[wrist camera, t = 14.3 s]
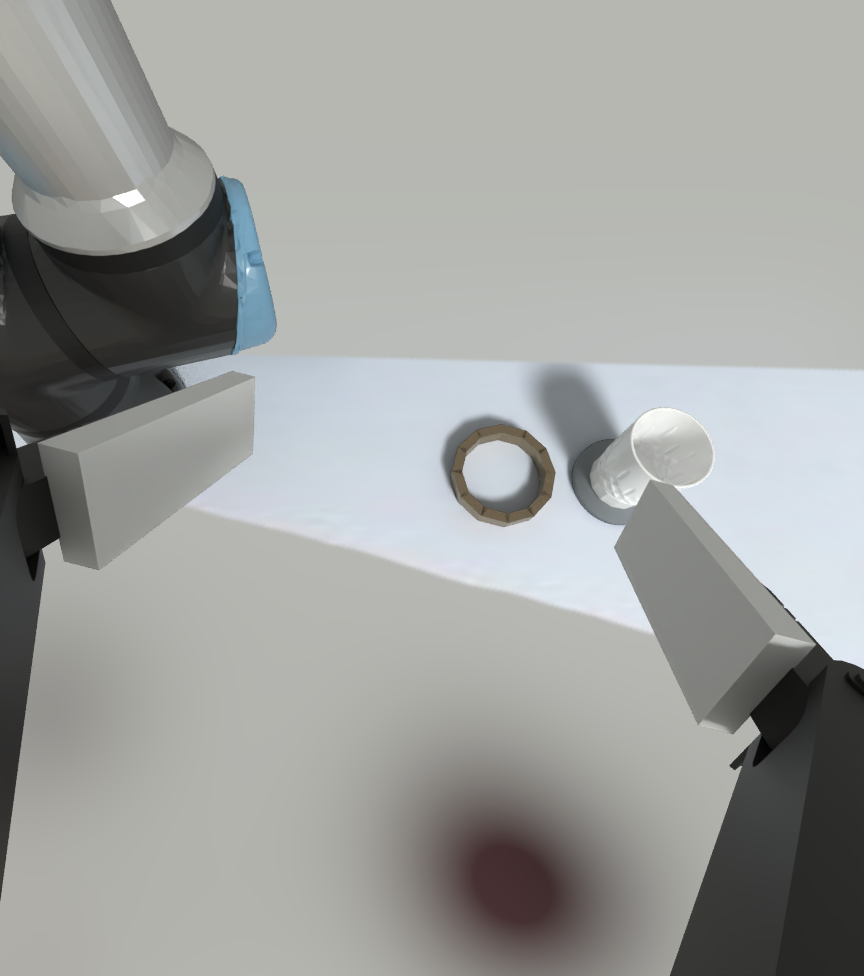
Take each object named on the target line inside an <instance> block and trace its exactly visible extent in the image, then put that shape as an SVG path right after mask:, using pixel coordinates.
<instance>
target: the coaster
mask: <svg viewBox="0 0 864 976" xmlns="http://www.w3.org/2000/svg"><path fill="white" fill-rule="evenodd" d="M614 440H615V439H607V440H601V441H598V442H596V443H594V444H592V445H590V446H589V447H588V448H587V449H585V450H584V451H583V452H582V453H581V454H580V455H579V457H578V458H577V460H576V462H575V464H574V467H573V471H572V484H573V489H574V492H575V494H576V496H577V499H578V500H579V502H580V503H581V505H582V506H583V507H584V508H585V509H586V510H587V511H588V512H589V513H590V514H591V515H592V516H594V517H596V518H597V519H599V520H601V521H603V522H606V523H609V524H614V525H626V524H627V522H628V520H629V518H630V516H631V514H632V513H633V511H634V509H635V507H636V506H634V507H631V508H627V509H620V508H615V507H611V506H609V505H608V504H606V503H605V502H603V501H602V500H600V499H599V498H598V496H597V495H596V493H595V492H594V490H593V489H592V487H591V481H590V471H591V468H592V465H593V463H594V462H595V461H596V460H597V459H598V458H599V457H600V456H601V455H602V454H603V453H604V451H605V450H606V448H608V447H609V445H610V444H611V443H612V442H613V441H614Z"/></svg>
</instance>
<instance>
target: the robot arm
mask: <svg viewBox="0 0 864 976" xmlns="http://www.w3.org/2000/svg"><path fill="white" fill-rule="evenodd" d="M0 156H1V157H2V158H3V159H4V160H5V162H6V163H7V164H8V165H9V167H10V168H11V169H12V170H13V171H14V173H15V177H14V184H13V189H12V203H13V208H14V211H15V213H16V214H11V215H6V216H0V898H1V891H2V884H3V876H4V868H5V861H6V854H7V846H8V839H9V831H10V824H11V816H12V808H13V801H14V793H15V786H16V779H17V771H18V763H19V756H20V748H21V741H22V734H23V726H24V719H25V711H26V704H27V696H28V689H29V681H30V673H31V666H32V658H33V651H34V643H35V636H36V629H37V621H38V614H39V606H40V599H41V590H42V583H43V576H44V568H45V560H44V556H43V552H42V548H44V547H45V546H47V545H49V544H50V543H52V542H54V541H55V540H57V539H59V541H60V545H61V550H62V554H63V559H64V561H65V562H69V563H73V564H77V565H81V566H85V567H88V568H92V569H96V570H100V569H101V568H103V567H104V566H105V565H107V564H108V563H109V562H111V561H112V560H113V559H115V558H116V557H117V556H119V555H120V554H121V553H122V552H124V551H125V550H126V549H128V548H129V547H130V546H132V545H133V544H134V543H136V542H137V541H138V540H140V539H141V538H142V537H144V536H145V535H146V534H148V533H149V532H150V531H152V530H153V529H154V528H156V527H157V526H158V525H160V524H161V523H162V522H164V521H165V520H166V519H167V518H169V517H170V516H171V515H173V514H174V513H175V512H177V511H178V510H179V509H181V508H182V507H183V506H185V505H186V504H187V503H189V502H190V501H191V500H193V499H194V498H195V497H197V496H198V495H199V494H201V493H202V492H203V491H205V490H206V489H207V488H209V487H210V486H211V485H212V484H214V483H215V482H216V481H218V480H219V479H220V478H222V477H223V476H224V475H226V474H227V473H228V472H230V471H231V470H232V469H234V468H235V467H236V466H238V465H239V464H240V463H242V462H243V461H244V460H246V459H247V458H248V457H249V456H251V455H252V454H253V435H254V404H255V377H253V376H249V375H246V374H242V373H238V372H234V371H231V372H228V373H226V374H223V375H220V376H218V377H215V378H212V379H209V380H207V381H204V382H201V383H199V384H196V385H193V386H191V387H188V388H186V387H185V386H184V385H183V383H182V382H181V381H180V380H179V379H178V378H177V377H176V376H175V375H174V373H173V372H172V371H171V370H170V369H169V368H171V367H176V366H180V365H185V364H189V363H194V362H199V361H203V360H208V359H213V358H217V357H222V356H226V355H235V354H237V353H239V351H241V350H245V349H248V348H251V347H255V346H258V345H261V344H264V343H266V342H268V341H269V340H270V339H271V338H272V337H273V336H274V334H275V332H276V325H277V324H276V316H275V310H274V305H273V300H272V295H271V291H270V287H269V282H268V278H267V274H266V270H265V266H264V262H263V260H262V253H261V250H260V246H259V240H258V236H257V232H256V228H255V224H254V220H253V216H252V212H251V208H250V205H249V201H248V198H247V195H246V191H245V188H244V186H243V184H242V183H241V182H240V181H239V180H237V179H233V178H227V177H224V176H221V177H220V178H217V176H216V173H215V171H214V168H213V166H212V164H211V161H210V160H209V158H208V156H207V155H206V153H205V152H204V150H203V149H202V148H201V147H200V146H199V145H198V144H197V143H196V142H195V141H193V140H192V139H190V138H189V137H187V136H186V135H184V134H182V133H180V132H178V131H176V130H174V129H172V128H170V127H169V126H168V125H167V122H166V120H165V118H164V116H163V114H162V112H161V109H160V107H159V105H158V103H157V101H156V98H155V96H154V94H153V92H152V90H151V88H150V85H149V83H148V81H147V79H146V77H145V74H144V72H143V70H142V68H141V66H140V64H139V61H138V59H137V57H136V55H135V53H134V51H133V49H132V46H131V44H130V42H129V40H128V38H127V35H126V33H125V31H124V29H123V26H122V24H121V22H120V20H119V18H118V15H117V14H116V11H115V9H114V7H113V5H112V2H111V0H0ZM12 430H14V431H16V432H17V433H18V434H19V435H20V436H21V437H22V439H23V440H24V441H25V442H26V443H27V444H28V445H25V446H22V447H19V448H17V449H16V445H15V441H14V437H13V433H12ZM614 548H615V550H616V552H617V555H618V557H619V559H620V561H621V563H622V565H623V567H624V569H625V571H626V574H627V576H628V578H629V580H630V582H631V584H632V586H633V588H634V591H635V593H636V595H637V597H638V599H639V601H640V603H641V605H642V607H643V610H644V612H645V614H646V616H647V618H648V620H649V622H650V624H651V627H652V629H653V631H654V633H655V635H656V637H657V639H658V641H659V643H660V646H661V648H662V650H663V652H664V654H665V656H666V658H667V660H668V662H669V665H670V667H671V669H672V671H673V673H674V675H675V677H676V679H677V681H678V683H679V686H680V688H681V690H682V692H683V694H684V696H685V698H686V701H687V703H688V705H689V707H690V709H691V711H692V713H693V715H694V718H695V720H696V722H697V724H698V725H699V726H703V727H707V728H711V729H715V730H718V731H722V732H726V733H730V734H734V733H735V732H736V731H737V730H738V729H739V727H740V726H741V725H742V724H743V723H744V722H745V721H746V720H747V719H748V718H749V717H750V716H751V718H752V719H753V721H754V722H755V724H756V726H757V727H758V729H759V731H760V732H761V734H760V735H759V736H758V737H757V738H756V739H755V740H754V741H753V742H752V743H751V744H750V745H749V746H748V747H747V748H746V749H745V750H744V751H743V752H742V753H741V754H740V755H739V756H738V757H737V758H736V759H735V760H734V761H733V762H732V764H731V765H730V767H731V768H733V769H734V770H736V769H737V768H738V767H739V766H742V768H741V771H740V774H739V777H738V780H737V783H736V786H735V788H734V791H733V794H732V797H731V800H730V803H729V806H728V809H727V812H726V815H725V817H724V820H723V823H722V826H721V829H720V832H719V835H718V838H717V841H716V844H715V847H714V849H713V852H712V855H711V858H710V861H709V864H708V867H707V870H706V873H705V876H704V878H703V881H702V884H701V887H700V890H699V893H698V896H697V899H696V901H695V904H694V907H693V910H692V913H691V916H690V919H689V922H688V925H687V927H686V930H685V933H684V936H683V939H682V942H681V945H680V948H679V951H678V954H677V956H676V959H675V962H674V965H673V968H672V971H671V974H670V976H864V669H862V668H860V667H858V666H856V665H853V664H850V663H847V662H844V661H836V660H833V659H832V658H831V657H830V656H829V655H828V653H827V652H826V651H825V650H824V649H823V648H822V647H821V646H820V645H819V644H818V642H817V641H816V640H815V639H814V638H813V637H812V636H811V635H810V634H809V632H808V631H807V630H806V629H805V628H804V627H803V626H802V625H801V624H800V623H799V622H798V621H795V619H796V618H795V617H794V616H793V615H792V614H791V613H790V612H789V610H788V609H786V608H784V605H783V604H782V603H781V602H780V600H779V599H778V598H777V597H776V596H775V595H774V594H773V593H772V592H771V591H770V590H769V589H768V588H767V587H765V586H764V585H763V584H761V582H760V581H759V580H758V579H757V578H756V577H755V576H754V575H753V574H752V572H751V571H750V570H749V569H748V568H747V567H746V566H745V565H744V564H743V562H742V561H741V560H740V559H739V558H738V557H737V556H736V555H735V554H734V552H733V551H732V550H731V549H730V548H729V547H728V546H727V545H726V543H725V542H724V541H723V540H722V539H721V538H720V537H719V536H718V535H717V533H716V532H715V531H714V530H713V529H712V528H711V527H710V526H709V525H708V523H707V522H706V521H705V520H704V519H703V518H702V517H701V516H700V515H699V513H698V512H697V511H696V510H695V509H694V508H693V507H692V506H691V504H690V503H689V502H688V501H687V500H686V499H685V498H684V497H683V496H682V494H681V493H680V492H679V491H678V490H677V489H676V488H675V487H674V486H673V485H671V484H667V483H663V482H659V481H655V480H651V479H650V480H649V482H648V484H647V486H646V488H645V490H644V492H643V494H642V496H641V497H640V499H639V501H638V503H637V505H636V507H635V509H634V511H633V513H632V514H631V516H630V518H629V520H628V522H627V524H626V526H625V528H624V530H623V532H622V533H621V535H620V537H619V539H618V541H617V543H616V545H615V547H614Z"/></svg>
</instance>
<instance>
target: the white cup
mask: <svg viewBox="0 0 864 976" xmlns="http://www.w3.org/2000/svg"><path fill="white" fill-rule="evenodd" d="M714 459H715V453H714V447H713V443H712V440H711V438H710V436H709V434H708V432H707V431H706V430H705V428H704V427H703V426H702V425H701V424H700V423H699V422H698V421H697V420H696V419H695V418H693V417H692V416H691V415H689V414H687V413H685V412H683V411H681V410H678V409H674V408H668V407H659V408H654V409H651V410H648V411H646V412H645V413H643V414H642V415H641V416H639V417H638V418H637V419H636V420H635V421H634V422H633V423H632V424H631V425H630V426H629V427H628V428H627V429H626V430H625V431H624V432H623V433H622V434H621V435H620V436H619V437H618V438H616V439H615V440H614V441H613V442H612V443H611V444H610V445H609V447H608V448H606V450H605V451H604V453H603V454H602V455H601V456H600V457H599V458H598V459H597V460H596V461H595V462H594V463H593V465H592V468H591V471H590V481H591V487H592V489H593V490H594V492H595V493H596V495H597V496H598V498H599V499H600V500H602V501H603V502H605V503H606V504H608V505H609V506H611V507H615V508H620V509H627V508H631V507H634V506H636V505H637V503H638V501H639V499H640V497H641V496H642V494H643V492H644V490H645V488H646V486H647V484H648V482H649V480H650V479H651V480H655V481H659V482H663V483H667V484H671V485H673V486H674V487H675V488H676V489H677V490H678V491H681V490H684V489H686V488H689V487H692V486H695V485H697V484H699V483H701V482H702V481H703V480H704V479H706V477H707V476H708V475H709V474H710V472H711V470H712V468H713V465H714Z"/></svg>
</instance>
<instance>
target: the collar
mask: <svg viewBox="0 0 864 976" xmlns="http://www.w3.org/2000/svg"><path fill="white" fill-rule="evenodd" d="M495 440H500V441H504V442H508V443H511V444H515V445H518V446H519V447H520V448H521V449H523V450H524V451H525V452H526V453H527V454H528V455H529V456H530V457H532V458H533V460H534V462H535V465H536V468H537V470H538V473H539V476H540V483H539V489H538V495H537V498H536V499H535V500H534V501H533V502H532V504H531V505H530V506H529V507H528V508H526V509H522V510H519V511H515V512H511V513H504V512H500V511H496V510H492V509H488V508H485V507H484V506H483V505H482V504H481V503H480V502H479V501H478V500H477V499H475V498H474V497H473V496H472V495H471V494H470V493H469V492H468V489H467V485H466V482H465V479H464V476H463V473H462V470H463V465H464V461H465V457H466V456H467V455H468V454H469V453H470V452H471V451H472V450H473V449H474V448H475V447H476V446H477V445H479V444H483V443H487V442H491V441H495ZM555 473H556V472H555V470H554V467H553V465H552V462H551V459H550V457H549V454H548V452H547V449H546V448H545V447H544V446H543V445H542V444H541V443H540V442H538V441H537V440H536V439H535V438H534V437H533V436H532V435H530V434H529V433H528V432H527V431H525V430H521V429H517V428H513V427H510V426H506V425H502V424H500V425H496V426H492V427H487V428H483V429H479V430H476V431H475V432H474V433H473V434H472V435H471V436H470V437H469V438H468V439H466V440H465V441H464V442H463V443H462V444H461V445H460V446H459V447H458V450H457V453H456V457H455V461H454V465H453V469H452V473H451V477H450V478H451V481H452V484H453V487H454V491H455V494H456V497H457V500H458V502H459V503H460V504H461V505H462V506H463V507H464V508H465V509H466V510H467V511H468V512H469V513H470V514H471V515H472V516H474V517H475V518H476V519H477V520H478V521H482V522H486V523H490V524H494V525H497V526H501V527H506V526H510V525H513V524H517V523H521V522H524V521H528V520H530V519H531V518H532V517H534V516H535V514H536V513H537V512H538V511H539V510H540V509H541V508H542V507H543V506H544V505H545V504H546V502H547V501H548V500H549V499H550V498H551V496H552V490H553V484H554V478H555Z"/></svg>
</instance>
